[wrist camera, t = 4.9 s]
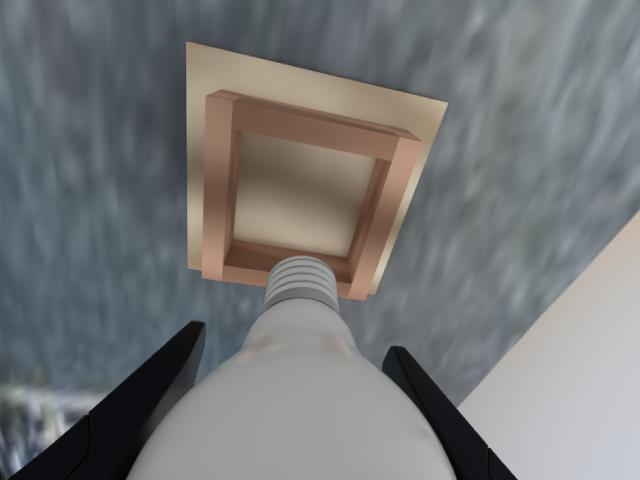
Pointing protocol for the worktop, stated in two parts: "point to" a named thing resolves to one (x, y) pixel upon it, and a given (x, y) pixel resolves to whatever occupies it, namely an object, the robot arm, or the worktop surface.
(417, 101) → the holder
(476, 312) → the worktop surface
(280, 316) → the lightbulb
